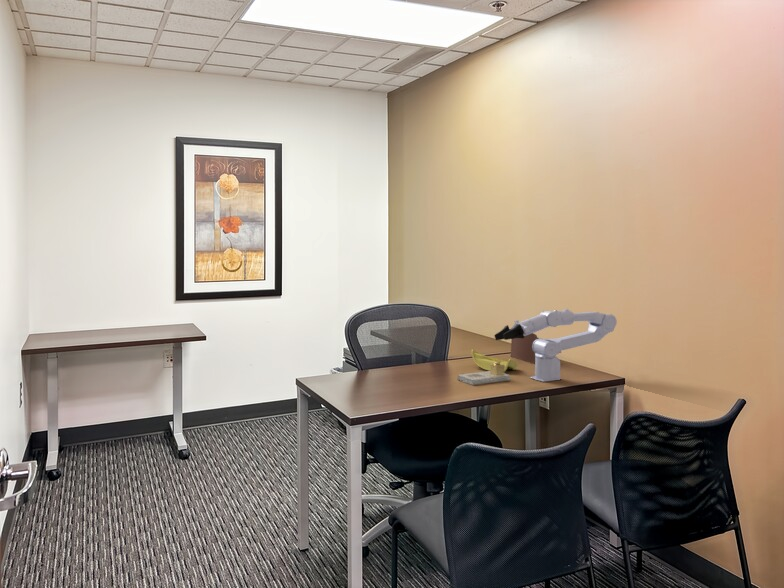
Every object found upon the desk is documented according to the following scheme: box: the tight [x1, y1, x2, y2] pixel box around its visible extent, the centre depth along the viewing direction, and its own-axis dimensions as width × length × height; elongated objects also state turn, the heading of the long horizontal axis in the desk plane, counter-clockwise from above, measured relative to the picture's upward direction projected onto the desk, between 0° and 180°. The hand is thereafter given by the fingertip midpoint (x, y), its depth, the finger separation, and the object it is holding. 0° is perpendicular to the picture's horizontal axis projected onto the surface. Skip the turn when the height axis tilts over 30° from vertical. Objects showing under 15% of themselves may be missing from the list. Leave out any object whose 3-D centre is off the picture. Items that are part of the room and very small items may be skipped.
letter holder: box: [510, 332, 539, 365], centre depth 285 cm, size 10×20×14 cm, turn 22°
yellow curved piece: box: [471, 349, 519, 373], centre depth 265 cm, size 20×7×10 cm
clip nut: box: [490, 362, 505, 375], centre depth 246 cm, size 4×4×4 cm
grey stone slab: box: [457, 370, 511, 386], centre depth 243 cm, size 18×10×2 cm, turn 118°
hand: (499, 337), depth 237 cm, fingers open, 7 cm apart
